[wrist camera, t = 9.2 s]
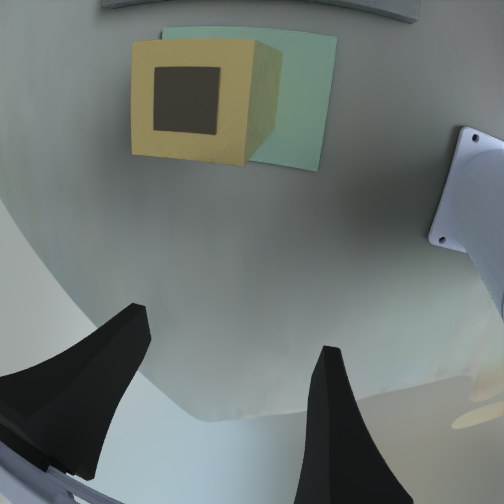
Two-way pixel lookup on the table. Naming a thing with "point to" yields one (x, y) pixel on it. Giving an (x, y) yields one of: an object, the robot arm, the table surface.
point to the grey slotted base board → (382, 3)
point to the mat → (288, 89)
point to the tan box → (203, 98)
